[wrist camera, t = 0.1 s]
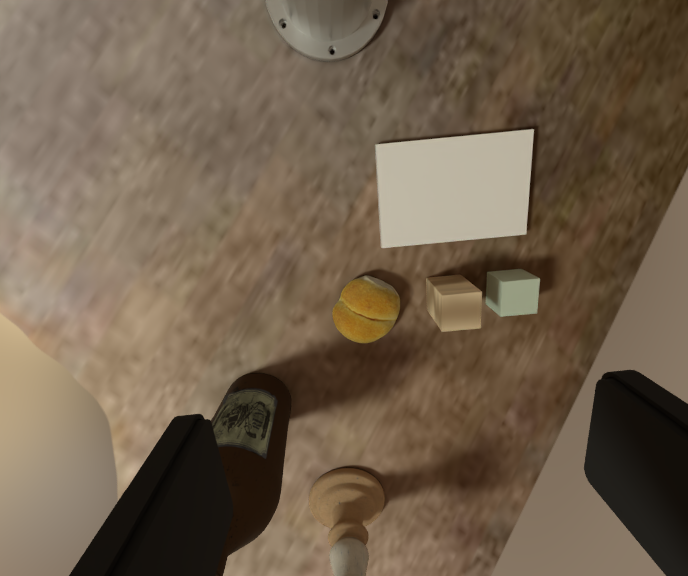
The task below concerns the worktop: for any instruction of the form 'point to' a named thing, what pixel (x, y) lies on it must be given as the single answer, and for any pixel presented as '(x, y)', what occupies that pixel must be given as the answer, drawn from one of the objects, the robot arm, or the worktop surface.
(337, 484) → the candle holder
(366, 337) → the bread roll
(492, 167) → the ceramic tile
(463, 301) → the maple block
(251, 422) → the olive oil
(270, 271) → the worktop surface
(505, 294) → the sage cube
